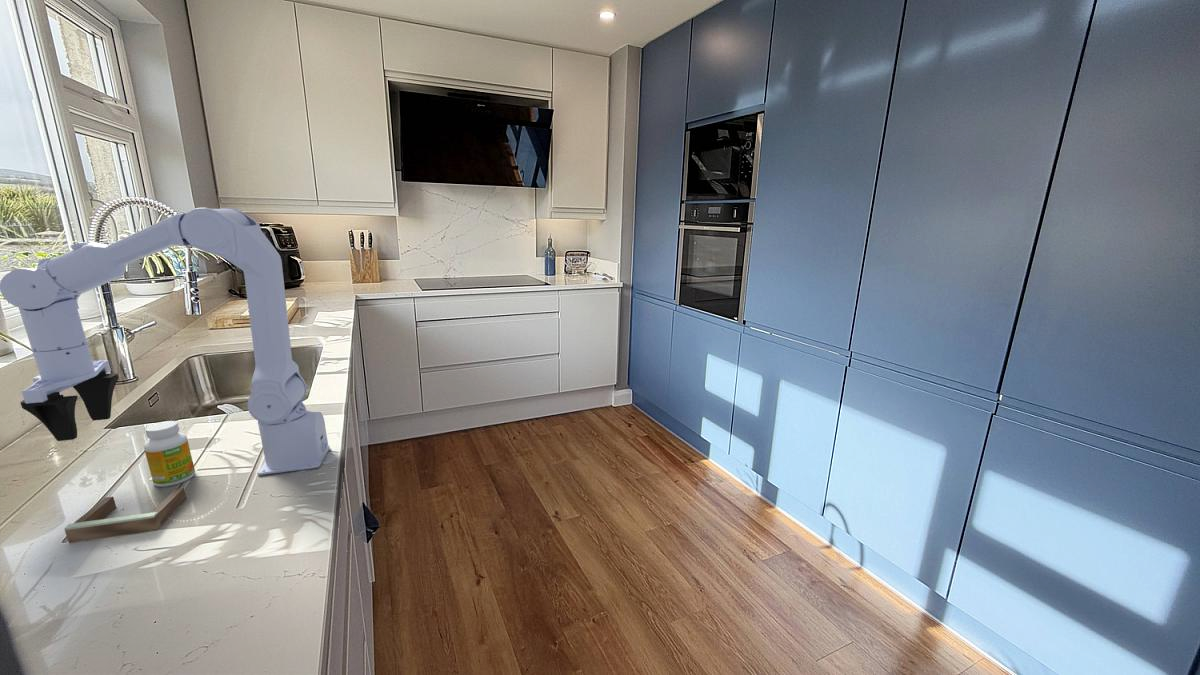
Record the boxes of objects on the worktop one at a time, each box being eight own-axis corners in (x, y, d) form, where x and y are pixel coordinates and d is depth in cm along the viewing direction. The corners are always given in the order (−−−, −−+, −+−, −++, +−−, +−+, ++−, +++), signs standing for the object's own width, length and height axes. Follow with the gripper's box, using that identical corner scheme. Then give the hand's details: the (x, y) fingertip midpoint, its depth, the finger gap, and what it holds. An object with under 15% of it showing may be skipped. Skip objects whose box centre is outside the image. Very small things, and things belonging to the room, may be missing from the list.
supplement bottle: (171, 489, 79) (157, 434, 76) (144, 485, 80) (130, 431, 77) (203, 472, 84) (191, 420, 81) (178, 469, 85) (165, 417, 82)
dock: (186, 498, 76) (183, 485, 76) (157, 530, 69) (153, 515, 68) (108, 509, 74) (104, 495, 73) (68, 542, 66) (64, 528, 66)
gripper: (64, 336, 80) (86, 413, 83) (-18, 362, 66) (14, 453, 70) (116, 333, 82) (136, 409, 85) (47, 358, 68) (75, 447, 72)
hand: (85, 428), depth 78 cm, fingers open, 7 cm apart
